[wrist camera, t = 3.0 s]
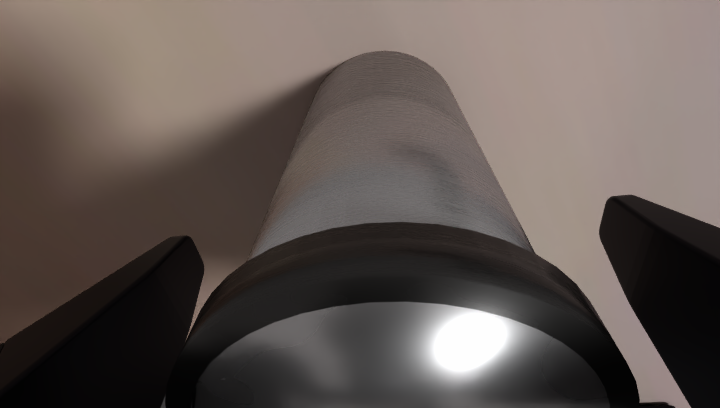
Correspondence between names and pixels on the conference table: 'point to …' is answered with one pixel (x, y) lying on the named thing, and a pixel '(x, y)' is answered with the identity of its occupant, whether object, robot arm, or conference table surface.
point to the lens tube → (395, 274)
